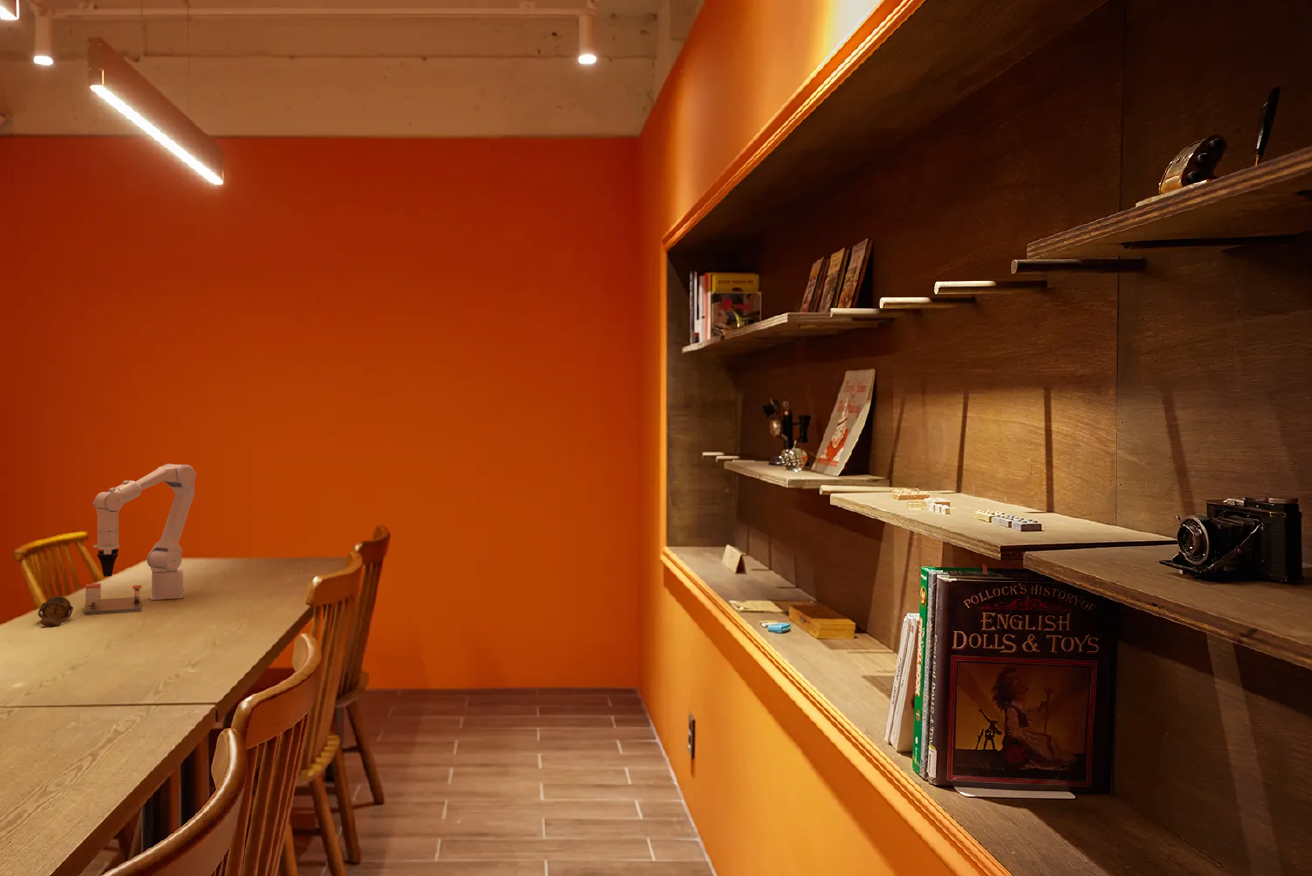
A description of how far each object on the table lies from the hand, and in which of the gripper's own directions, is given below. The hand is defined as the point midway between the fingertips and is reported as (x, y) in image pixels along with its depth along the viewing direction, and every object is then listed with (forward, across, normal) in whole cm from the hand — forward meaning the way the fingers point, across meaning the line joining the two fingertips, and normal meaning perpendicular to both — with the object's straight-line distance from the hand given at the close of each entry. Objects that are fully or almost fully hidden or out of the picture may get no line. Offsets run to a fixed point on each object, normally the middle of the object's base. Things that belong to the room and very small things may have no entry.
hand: (107, 574), depth 300 cm
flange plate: (+10, 0, +1) cm, 10 cm away
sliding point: (+9, 0, -4) cm, 10 cm away
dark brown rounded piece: (+11, +18, -14) cm, 25 cm away
